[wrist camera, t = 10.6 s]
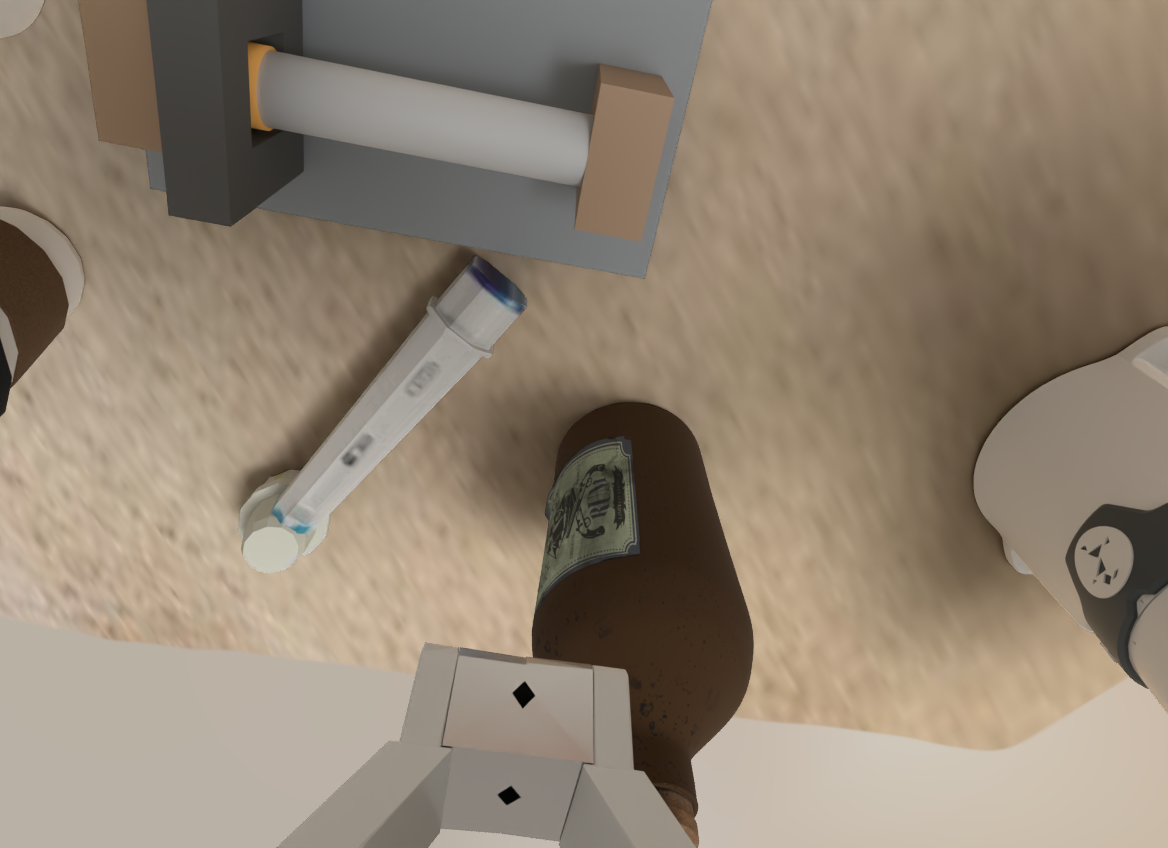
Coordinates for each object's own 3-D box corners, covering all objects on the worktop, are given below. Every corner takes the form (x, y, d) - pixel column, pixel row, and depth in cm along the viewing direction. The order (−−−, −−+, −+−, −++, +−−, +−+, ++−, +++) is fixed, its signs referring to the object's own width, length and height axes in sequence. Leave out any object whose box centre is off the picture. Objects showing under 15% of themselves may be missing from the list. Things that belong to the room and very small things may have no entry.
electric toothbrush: (538, 323, 40) (274, 614, 47) (535, 288, 46) (301, 551, 53) (460, 259, 38) (197, 571, 45) (467, 231, 44) (234, 511, 51)
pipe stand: (710, -15, 35) (740, -7, 28) (643, 269, 42) (653, 330, 35) (130, -143, 33) (6, -169, 26) (164, 181, 40) (75, 228, 33)
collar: (302, -36, 33) (214, -34, 25) (303, 171, 38) (231, 226, 30) (246, -48, 33) (141, -49, 25) (254, 162, 37) (168, 215, 30)
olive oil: (743, 461, 49) (859, 845, 28) (627, 550, 53) (651, 944, 32) (629, 360, 45) (664, 716, 24) (513, 463, 49) (456, 846, 28)
